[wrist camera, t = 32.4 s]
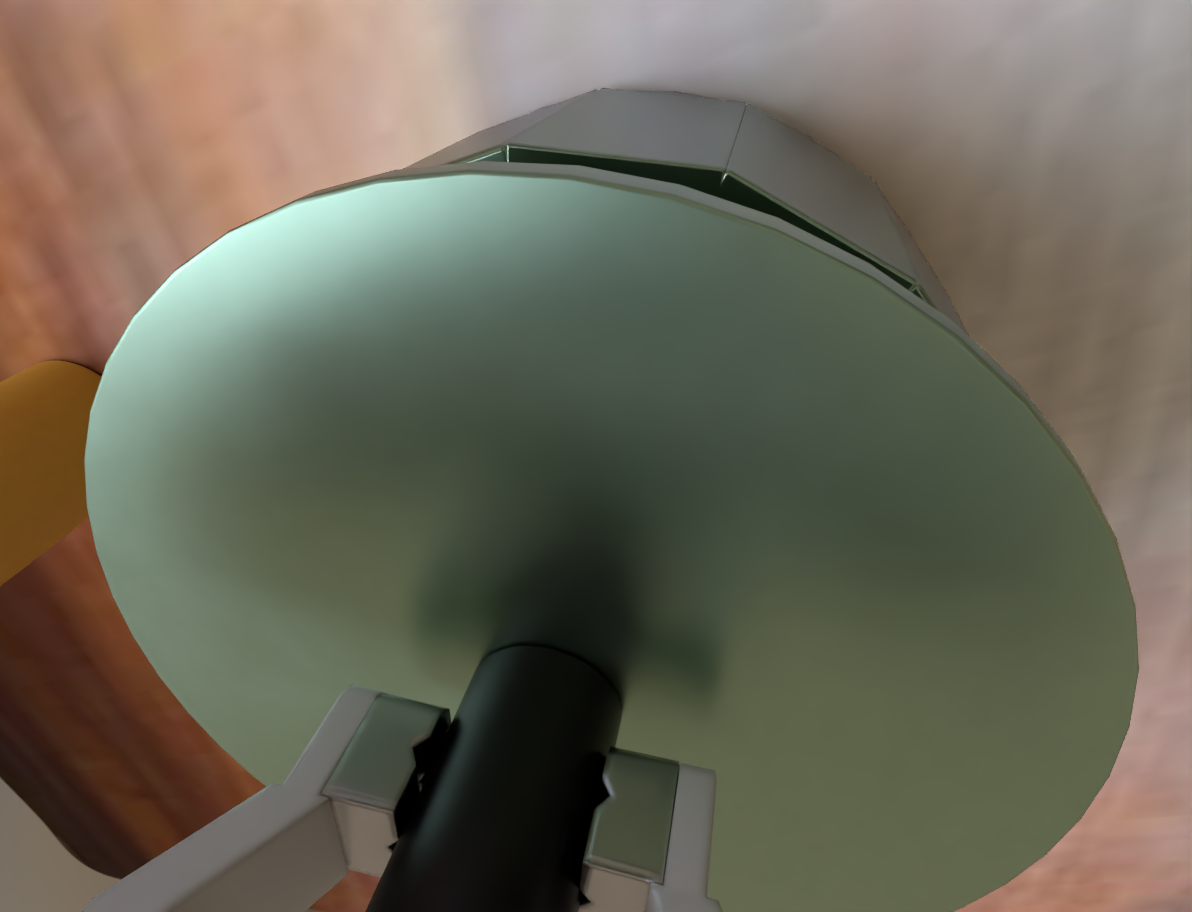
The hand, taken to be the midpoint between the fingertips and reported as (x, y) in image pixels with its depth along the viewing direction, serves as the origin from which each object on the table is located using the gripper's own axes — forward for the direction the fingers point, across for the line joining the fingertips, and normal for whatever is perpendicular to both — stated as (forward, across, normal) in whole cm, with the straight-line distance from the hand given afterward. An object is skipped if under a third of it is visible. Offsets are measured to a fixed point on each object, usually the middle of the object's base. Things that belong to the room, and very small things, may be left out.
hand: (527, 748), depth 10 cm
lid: (+2, 0, 0) cm, 2 cm away
